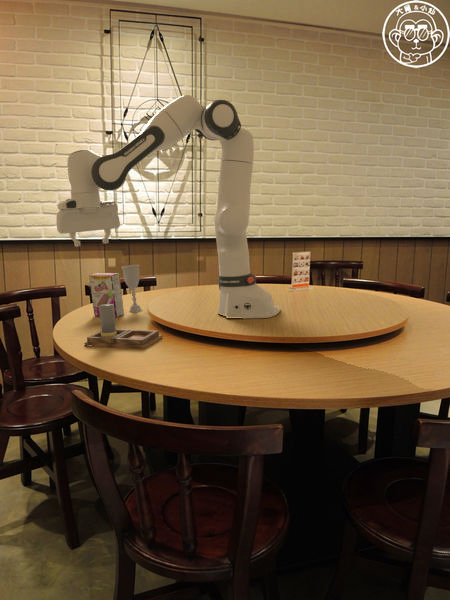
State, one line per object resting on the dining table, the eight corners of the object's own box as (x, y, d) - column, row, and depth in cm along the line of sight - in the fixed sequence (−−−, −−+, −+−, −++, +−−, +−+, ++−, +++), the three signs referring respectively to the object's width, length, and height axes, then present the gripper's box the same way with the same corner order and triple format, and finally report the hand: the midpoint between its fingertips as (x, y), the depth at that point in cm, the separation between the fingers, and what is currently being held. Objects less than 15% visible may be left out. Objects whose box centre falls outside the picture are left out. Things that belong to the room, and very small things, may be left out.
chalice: (134, 313, 179) (129, 267, 175) (123, 312, 183) (117, 267, 179) (148, 309, 184) (143, 264, 181) (136, 308, 189) (131, 264, 185)
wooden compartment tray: (162, 337, 144) (161, 330, 143) (144, 349, 134) (143, 340, 133) (105, 335, 151) (104, 328, 151) (84, 345, 141) (83, 338, 141)
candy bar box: (93, 316, 179) (87, 275, 176) (102, 313, 184) (96, 272, 180) (116, 317, 174) (111, 275, 171) (124, 314, 179) (119, 272, 175)
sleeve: (119, 334, 146) (116, 303, 145) (112, 338, 142) (109, 306, 140) (105, 334, 147) (103, 303, 146) (98, 338, 143) (95, 306, 141)
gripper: (113, 200, 158) (118, 241, 161) (52, 204, 147) (58, 248, 150) (120, 200, 153) (125, 241, 156) (57, 204, 142) (63, 248, 145)
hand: (92, 244), depth 153 cm, fingers open, 8 cm apart
